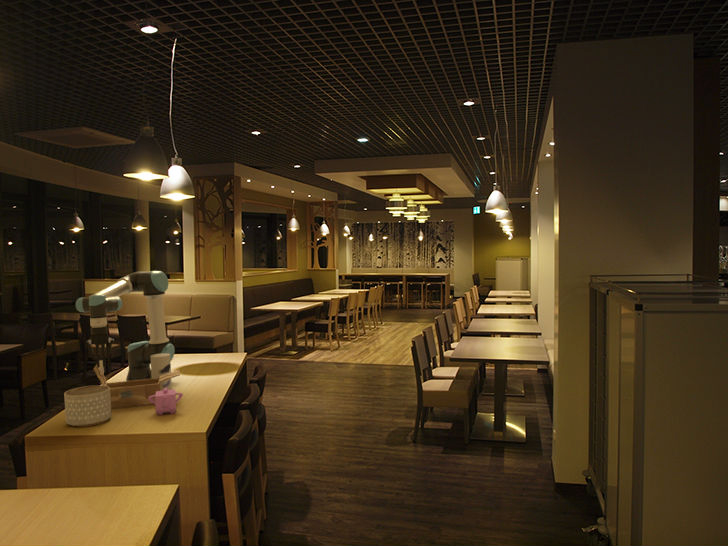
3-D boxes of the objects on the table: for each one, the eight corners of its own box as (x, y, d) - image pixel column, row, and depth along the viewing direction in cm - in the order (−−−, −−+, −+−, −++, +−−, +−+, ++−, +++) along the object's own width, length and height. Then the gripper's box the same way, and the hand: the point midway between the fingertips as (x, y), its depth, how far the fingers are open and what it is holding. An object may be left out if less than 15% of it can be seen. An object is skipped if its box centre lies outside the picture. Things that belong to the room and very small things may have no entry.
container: (165, 394, 307) (163, 356, 306) (148, 393, 309) (146, 356, 308) (175, 389, 317) (173, 353, 316) (158, 389, 319) (156, 353, 318)
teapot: (188, 410, 274) (187, 387, 273) (165, 418, 262) (164, 394, 262) (167, 406, 282) (165, 384, 281) (143, 414, 270) (142, 391, 270)
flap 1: (106, 381, 292) (96, 364, 290) (107, 381, 292) (97, 363, 291) (103, 386, 281) (93, 368, 279) (104, 386, 281) (94, 368, 279)
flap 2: (159, 376, 300) (179, 369, 303) (160, 377, 300) (179, 370, 303) (159, 381, 288) (179, 374, 291) (159, 382, 288) (179, 375, 291)
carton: (107, 402, 294) (106, 382, 294) (161, 396, 302) (160, 377, 302) (103, 410, 279) (102, 389, 279) (160, 403, 287) (159, 384, 287)
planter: (64, 430, 249) (62, 397, 248) (67, 419, 266) (65, 388, 265) (111, 424, 256) (109, 392, 255) (111, 413, 273) (110, 383, 272)
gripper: (83, 328, 279) (86, 376, 280) (112, 326, 283) (115, 373, 284) (85, 326, 286) (88, 373, 287) (114, 324, 290) (117, 370, 291)
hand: (102, 373), depth 286 cm, fingers closed
